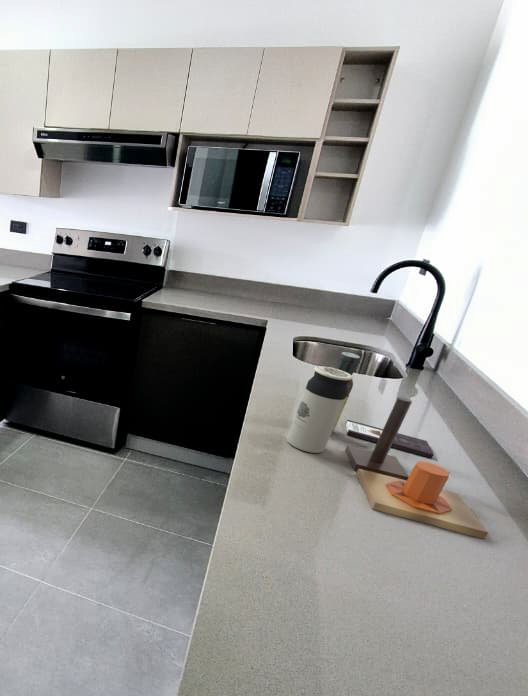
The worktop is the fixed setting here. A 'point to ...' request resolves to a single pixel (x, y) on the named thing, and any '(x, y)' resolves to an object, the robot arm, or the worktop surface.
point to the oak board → (385, 502)
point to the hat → (423, 488)
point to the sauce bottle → (347, 365)
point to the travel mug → (319, 409)
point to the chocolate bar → (399, 442)
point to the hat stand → (383, 446)
